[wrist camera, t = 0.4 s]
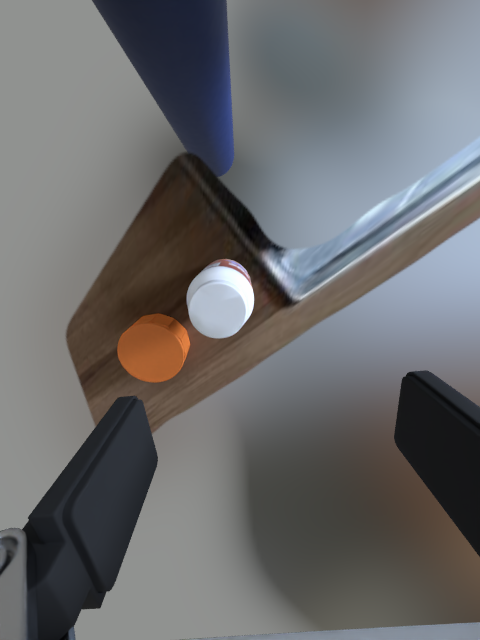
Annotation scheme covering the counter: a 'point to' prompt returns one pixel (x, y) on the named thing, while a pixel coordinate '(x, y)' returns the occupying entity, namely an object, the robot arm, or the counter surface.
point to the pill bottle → (220, 299)
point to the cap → (154, 348)
